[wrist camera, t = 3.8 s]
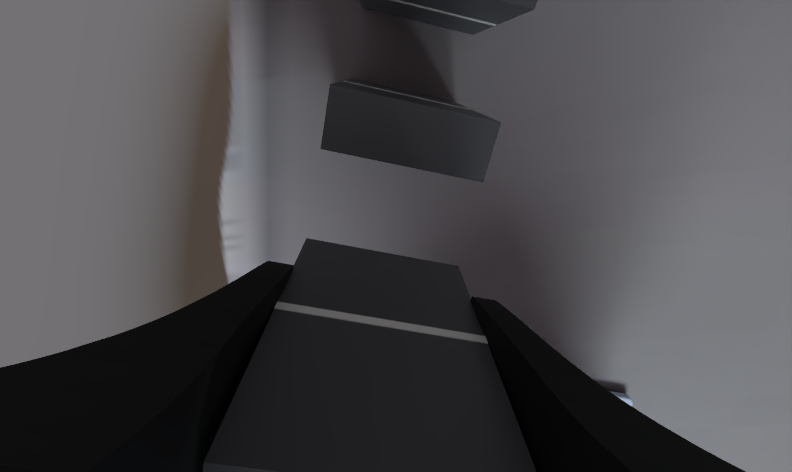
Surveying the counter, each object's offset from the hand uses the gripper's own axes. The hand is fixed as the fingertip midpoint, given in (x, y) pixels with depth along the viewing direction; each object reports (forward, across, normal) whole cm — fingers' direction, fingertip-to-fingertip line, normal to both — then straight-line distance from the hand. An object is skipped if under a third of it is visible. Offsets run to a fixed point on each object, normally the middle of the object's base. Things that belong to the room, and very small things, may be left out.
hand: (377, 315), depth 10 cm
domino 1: (+9, 0, -4) cm, 10 cm away
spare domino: (+2, 0, 0) cm, 2 cm away
